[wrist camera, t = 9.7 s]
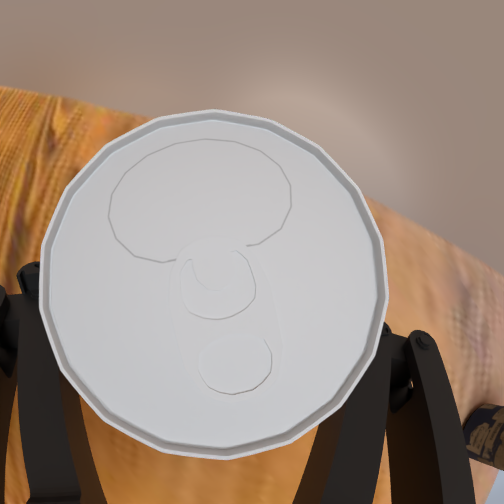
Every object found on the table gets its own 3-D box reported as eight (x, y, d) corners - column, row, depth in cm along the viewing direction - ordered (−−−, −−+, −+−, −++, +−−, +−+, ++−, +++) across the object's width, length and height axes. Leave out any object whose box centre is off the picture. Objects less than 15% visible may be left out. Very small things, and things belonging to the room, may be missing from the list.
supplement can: (133, 254, 20) (17, 134, 5) (251, 231, 21) (347, 86, 7) (158, 373, 18) (75, 496, 4) (278, 347, 20) (433, 403, 6)
